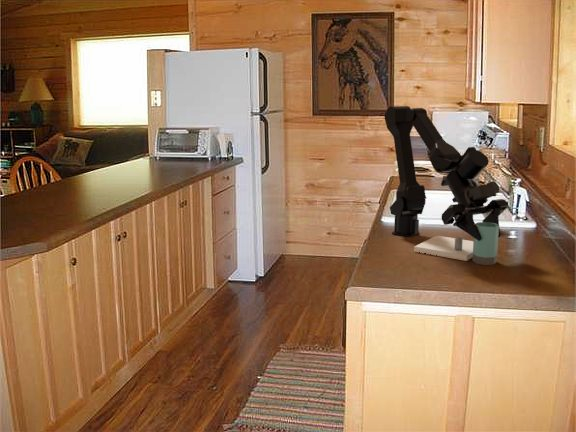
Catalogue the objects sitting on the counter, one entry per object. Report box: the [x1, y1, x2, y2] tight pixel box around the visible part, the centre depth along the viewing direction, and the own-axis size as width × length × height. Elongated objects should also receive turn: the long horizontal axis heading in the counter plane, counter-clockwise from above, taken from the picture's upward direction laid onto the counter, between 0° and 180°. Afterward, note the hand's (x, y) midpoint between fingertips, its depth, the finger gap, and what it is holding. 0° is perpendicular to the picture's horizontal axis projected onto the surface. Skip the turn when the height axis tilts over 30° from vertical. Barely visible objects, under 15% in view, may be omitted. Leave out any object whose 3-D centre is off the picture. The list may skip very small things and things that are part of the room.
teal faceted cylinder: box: [471, 221, 500, 266], centre depth 160 cm, size 6×6×10 cm
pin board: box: [413, 235, 474, 262], centre depth 172 cm, size 15×15×5 cm
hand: (489, 238), depth 159 cm, fingers closed on teal faceted cylinder, 6 cm apart
